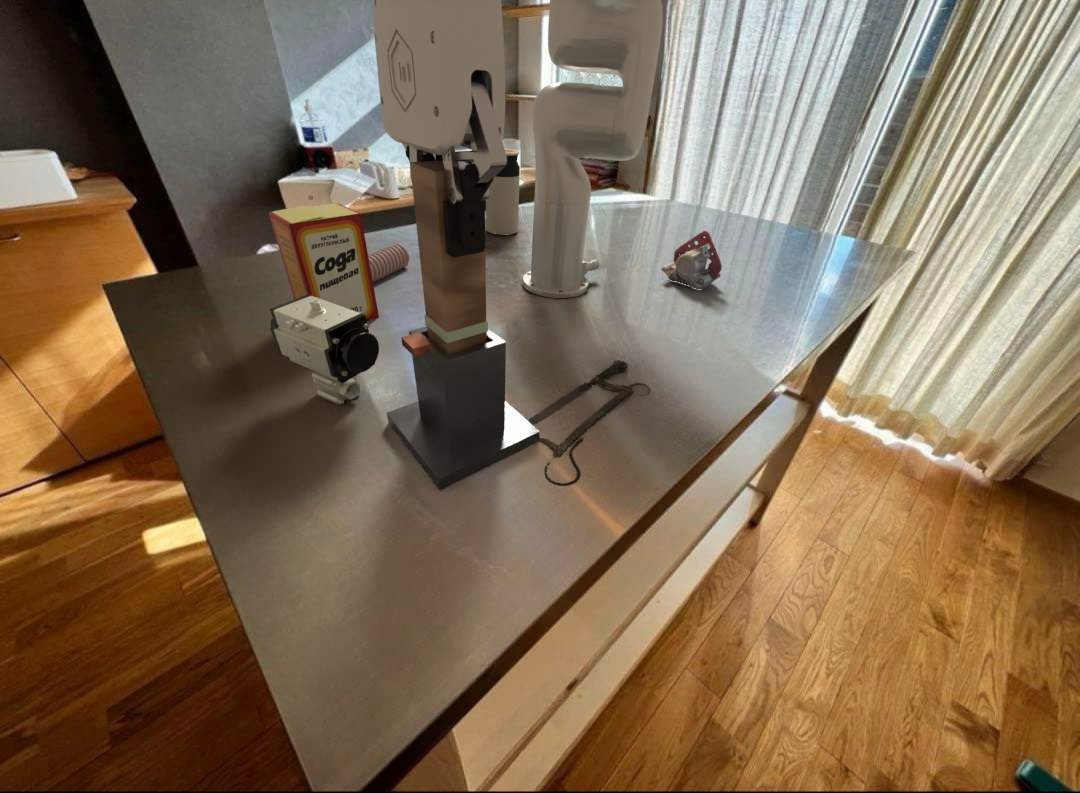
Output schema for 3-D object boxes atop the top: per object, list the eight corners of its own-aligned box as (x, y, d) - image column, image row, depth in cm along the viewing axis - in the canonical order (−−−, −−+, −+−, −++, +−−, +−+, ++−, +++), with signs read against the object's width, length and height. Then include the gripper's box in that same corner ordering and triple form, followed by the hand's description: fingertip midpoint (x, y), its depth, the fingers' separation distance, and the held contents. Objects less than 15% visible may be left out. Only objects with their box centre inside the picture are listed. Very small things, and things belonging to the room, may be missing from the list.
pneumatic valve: (322, 371, 56) (296, 281, 49) (390, 401, 52) (373, 308, 45) (283, 392, 52) (249, 298, 45) (354, 426, 48) (329, 329, 41)
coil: (344, 275, 71) (412, 246, 84) (322, 266, 72) (392, 239, 85) (348, 301, 74) (413, 268, 87) (326, 292, 75) (393, 262, 88)
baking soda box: (358, 303, 72) (337, 200, 63) (378, 317, 69) (360, 210, 59) (300, 319, 66) (267, 209, 57) (319, 335, 63) (287, 220, 54)
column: (466, 349, 45) (457, 159, 35) (488, 367, 42) (485, 168, 32) (429, 360, 43) (407, 162, 32) (450, 380, 40) (434, 172, 30)
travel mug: (516, 237, 107) (519, 154, 96) (484, 235, 107) (483, 151, 96) (518, 228, 113) (521, 149, 102) (488, 226, 113) (487, 147, 102)
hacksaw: (617, 364, 62) (619, 355, 61) (682, 395, 57) (685, 386, 56) (492, 442, 47) (492, 432, 47) (563, 495, 42) (565, 484, 41)
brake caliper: (734, 274, 88) (731, 233, 79) (703, 313, 87) (696, 276, 78) (689, 258, 94) (681, 219, 85) (659, 294, 93) (648, 259, 84)
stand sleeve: (480, 388, 55) (477, 293, 47) (538, 441, 47) (546, 338, 40) (388, 423, 48) (368, 319, 41) (439, 490, 41) (427, 379, 34)
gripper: (318, -69, 28) (368, 224, 39) (444, -133, 18) (463, 289, 29) (425, -45, 32) (443, 215, 43) (578, -86, 22) (550, 269, 33)
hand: (451, 242), depth 36 cm, fingers closed on column, 4 cm apart
